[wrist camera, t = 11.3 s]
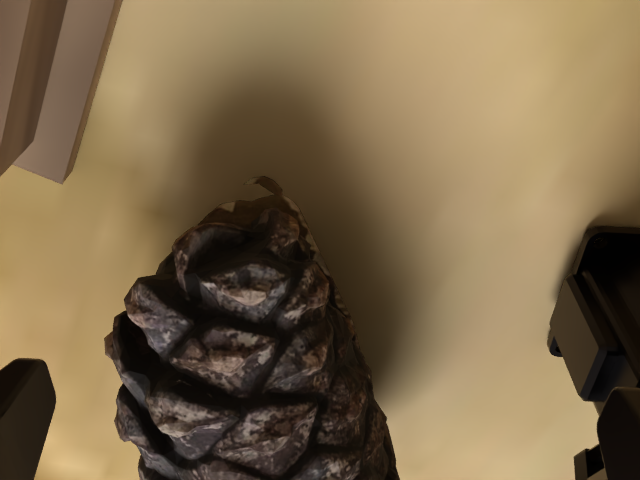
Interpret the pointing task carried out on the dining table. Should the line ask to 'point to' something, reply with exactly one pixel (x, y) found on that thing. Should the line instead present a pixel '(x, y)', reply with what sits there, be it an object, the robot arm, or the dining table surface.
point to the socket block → (49, 79)
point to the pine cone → (246, 358)
